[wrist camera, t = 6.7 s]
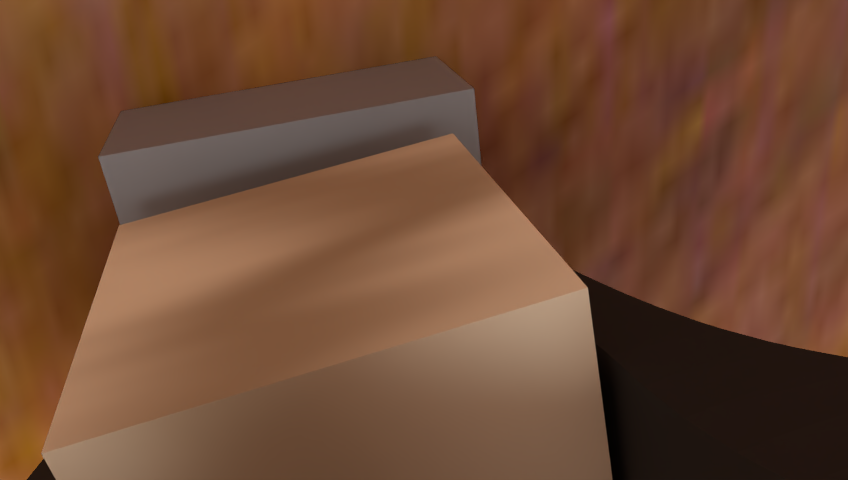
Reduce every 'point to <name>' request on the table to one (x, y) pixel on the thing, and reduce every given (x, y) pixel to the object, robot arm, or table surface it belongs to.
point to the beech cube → (337, 337)
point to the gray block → (279, 133)
